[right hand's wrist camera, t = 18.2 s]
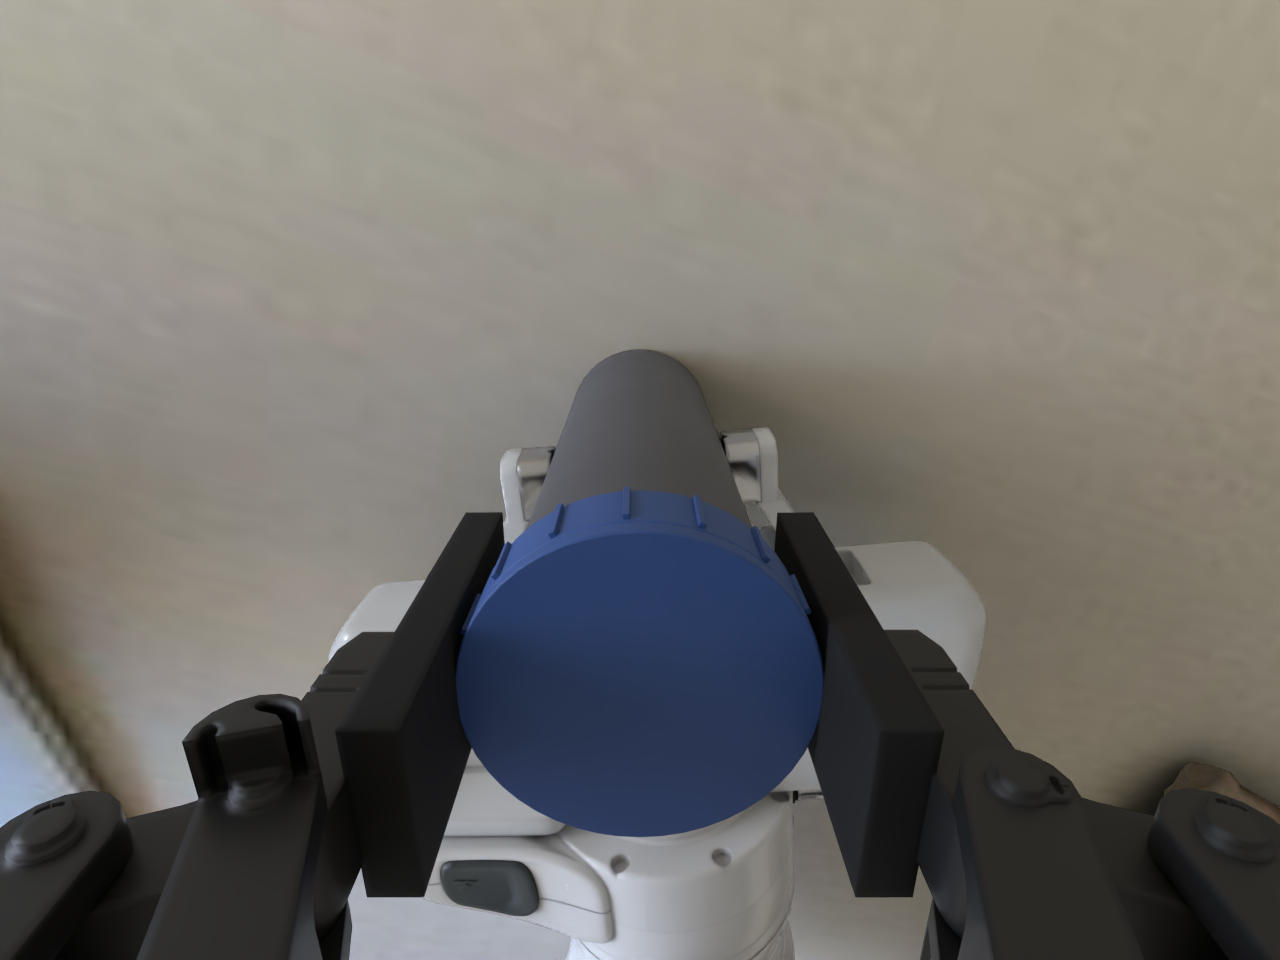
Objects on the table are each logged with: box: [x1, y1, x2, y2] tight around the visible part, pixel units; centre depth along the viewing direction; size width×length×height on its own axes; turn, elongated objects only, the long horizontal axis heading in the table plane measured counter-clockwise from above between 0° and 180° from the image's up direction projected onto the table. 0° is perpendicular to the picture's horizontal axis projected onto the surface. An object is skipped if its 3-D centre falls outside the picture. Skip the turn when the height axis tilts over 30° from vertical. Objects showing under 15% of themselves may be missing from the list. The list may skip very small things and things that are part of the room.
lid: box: [455, 487, 824, 837], centre depth 11 cm, size 6×6×2 cm
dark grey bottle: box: [526, 350, 752, 530], centre depth 19 cm, size 5×5×16 cm
